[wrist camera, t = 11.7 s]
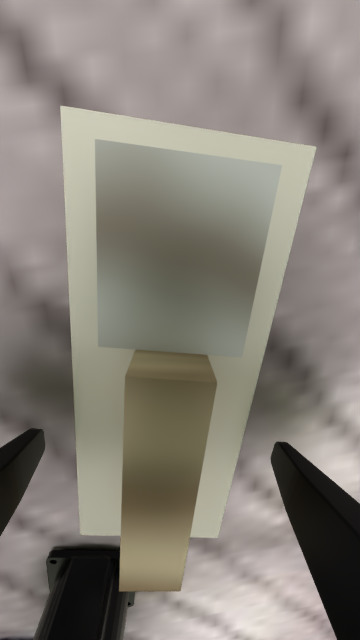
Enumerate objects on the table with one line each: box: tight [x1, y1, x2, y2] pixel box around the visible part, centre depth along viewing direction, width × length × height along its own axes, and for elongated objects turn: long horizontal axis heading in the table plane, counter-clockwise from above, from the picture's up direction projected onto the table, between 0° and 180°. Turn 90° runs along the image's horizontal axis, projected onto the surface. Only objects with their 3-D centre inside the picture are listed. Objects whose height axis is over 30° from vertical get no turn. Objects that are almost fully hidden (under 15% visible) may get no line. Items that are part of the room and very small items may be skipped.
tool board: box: [61, 106, 316, 538], centre depth 11 cm, size 22×9×1 cm, turn 174°
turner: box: [95, 139, 282, 591], centre depth 9 cm, size 19×6×3 cm, turn 174°
